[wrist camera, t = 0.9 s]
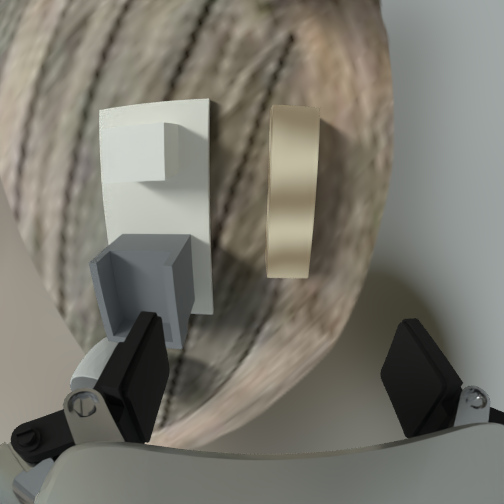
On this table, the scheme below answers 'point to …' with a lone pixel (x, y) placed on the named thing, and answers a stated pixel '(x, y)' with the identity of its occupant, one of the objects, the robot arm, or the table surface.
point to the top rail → (291, 189)
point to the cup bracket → (155, 217)
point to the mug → (92, 365)
